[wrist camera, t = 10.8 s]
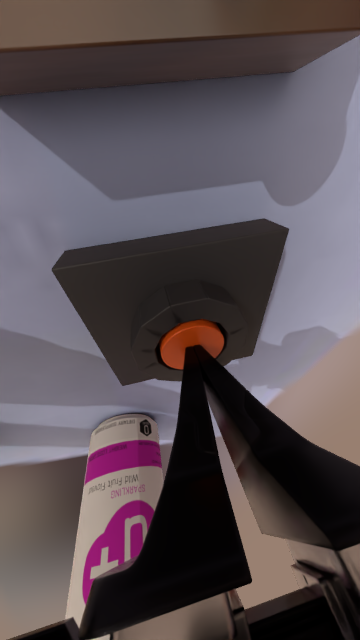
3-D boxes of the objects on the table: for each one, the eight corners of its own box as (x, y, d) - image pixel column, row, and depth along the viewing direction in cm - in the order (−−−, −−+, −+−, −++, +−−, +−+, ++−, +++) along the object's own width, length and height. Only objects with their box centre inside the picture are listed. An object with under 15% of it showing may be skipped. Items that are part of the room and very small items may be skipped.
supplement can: (93, 413, 20) (51, 710, 9) (163, 409, 23) (194, 630, 12) (90, 441, 25) (60, 661, 14) (149, 434, 28) (162, 611, 17)
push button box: (123, 363, 16) (121, 409, 13) (64, 250, 9) (33, 291, 6) (240, 337, 17) (264, 374, 14) (264, 217, 10) (319, 240, 7)
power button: (162, 353, 12) (166, 375, 11) (152, 312, 10) (155, 335, 9) (212, 341, 13) (222, 362, 11) (214, 300, 10) (227, 319, 9)
